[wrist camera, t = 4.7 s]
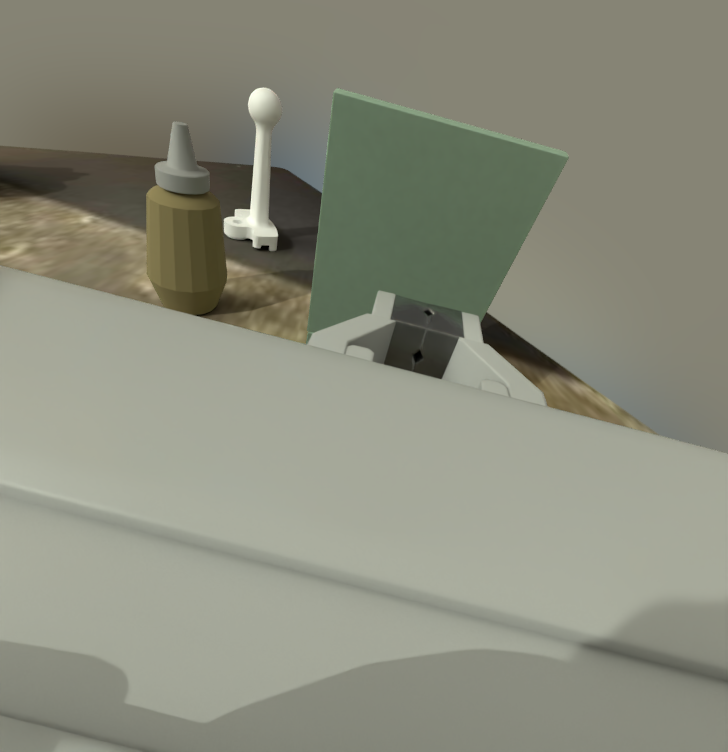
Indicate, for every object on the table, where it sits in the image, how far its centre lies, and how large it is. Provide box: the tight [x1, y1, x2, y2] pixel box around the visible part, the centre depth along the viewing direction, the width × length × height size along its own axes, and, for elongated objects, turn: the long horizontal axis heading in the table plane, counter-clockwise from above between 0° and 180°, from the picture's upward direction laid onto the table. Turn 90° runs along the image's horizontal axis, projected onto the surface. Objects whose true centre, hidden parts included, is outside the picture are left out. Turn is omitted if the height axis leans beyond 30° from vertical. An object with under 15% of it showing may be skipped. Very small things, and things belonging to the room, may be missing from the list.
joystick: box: [224, 88, 282, 251], centre depth 58 cm, size 11×8×20 cm
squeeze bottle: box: [147, 122, 227, 315], centre depth 41 cm, size 8×8×18 cm
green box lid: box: [307, 88, 569, 333], centre depth 25 cm, size 15×12×1 cm
